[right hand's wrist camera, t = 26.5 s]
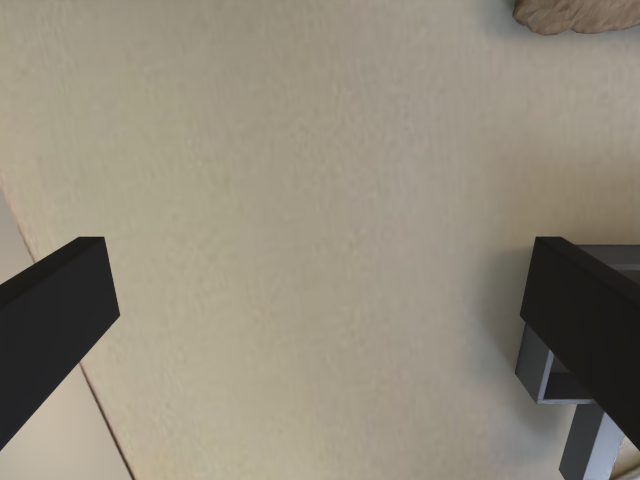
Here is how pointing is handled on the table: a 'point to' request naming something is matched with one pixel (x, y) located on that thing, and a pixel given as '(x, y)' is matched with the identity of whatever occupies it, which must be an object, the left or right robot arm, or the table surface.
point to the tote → (578, 387)
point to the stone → (577, 15)
